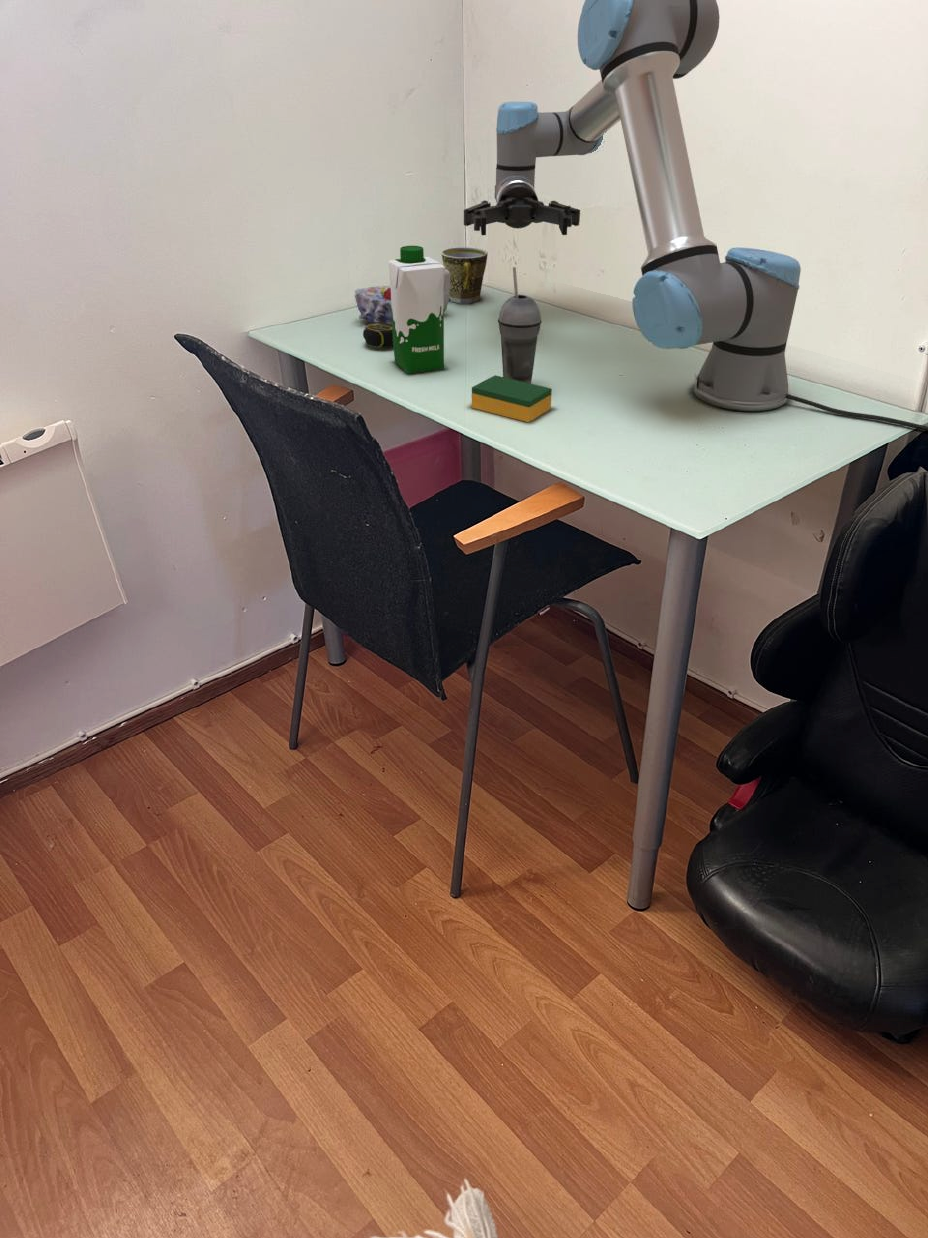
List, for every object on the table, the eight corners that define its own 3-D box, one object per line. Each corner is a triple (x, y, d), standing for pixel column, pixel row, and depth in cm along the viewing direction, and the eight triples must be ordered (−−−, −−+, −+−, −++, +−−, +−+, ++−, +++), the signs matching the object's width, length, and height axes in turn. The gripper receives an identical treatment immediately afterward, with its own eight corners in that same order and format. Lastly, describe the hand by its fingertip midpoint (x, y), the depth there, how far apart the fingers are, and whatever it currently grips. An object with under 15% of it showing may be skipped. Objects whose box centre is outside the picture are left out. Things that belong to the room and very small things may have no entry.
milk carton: (432, 355, 172) (430, 242, 161) (451, 370, 165) (450, 254, 154) (388, 361, 169) (383, 247, 158) (405, 377, 162) (401, 258, 151)
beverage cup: (535, 397, 154) (542, 274, 143) (493, 394, 155) (496, 271, 144) (540, 382, 160) (546, 263, 149) (498, 379, 161) (502, 261, 150)
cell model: (457, 261, 187) (389, 283, 175) (458, 314, 193) (392, 338, 181) (411, 250, 194) (342, 271, 182) (413, 302, 200) (347, 325, 188)
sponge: (550, 409, 150) (552, 388, 148) (528, 422, 145) (529, 401, 143) (494, 394, 155) (495, 374, 153) (471, 407, 150) (471, 387, 148)
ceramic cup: (440, 293, 207) (439, 247, 201) (483, 292, 208) (484, 246, 202) (445, 310, 196) (445, 261, 191) (491, 309, 197) (492, 260, 192)
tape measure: (406, 343, 178) (405, 323, 176) (388, 353, 173) (387, 333, 171) (376, 338, 180) (375, 319, 178) (357, 348, 175) (356, 328, 173)
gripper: (582, 224, 173) (597, 249, 155) (450, 224, 172) (450, 250, 155) (585, 181, 168) (600, 201, 151) (450, 181, 168) (449, 202, 151)
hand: (524, 226), depth 153 cm, fingers open, 13 cm apart
